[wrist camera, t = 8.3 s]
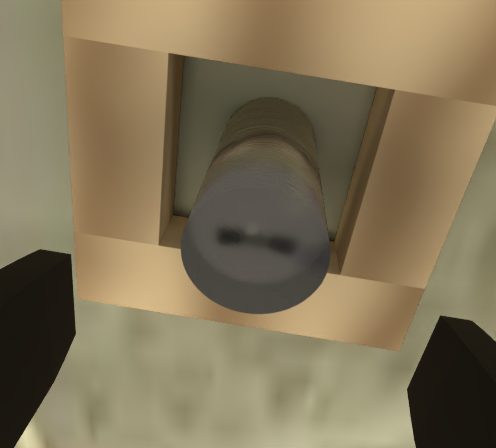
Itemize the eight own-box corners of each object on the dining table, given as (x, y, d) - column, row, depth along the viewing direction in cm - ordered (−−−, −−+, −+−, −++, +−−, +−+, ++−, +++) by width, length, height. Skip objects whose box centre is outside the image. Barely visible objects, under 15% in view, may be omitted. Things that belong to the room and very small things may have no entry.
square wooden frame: (510, -15, 14) (549, -13, 12) (387, 311, 21) (399, 351, 19) (91, -83, 14) (56, -93, 12) (99, 265, 21) (77, 298, 19)
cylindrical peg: (327, 113, 17) (354, 213, 10) (297, 194, 19) (301, 329, 12) (236, 85, 17) (198, 167, 10) (214, 170, 18) (168, 292, 11)
